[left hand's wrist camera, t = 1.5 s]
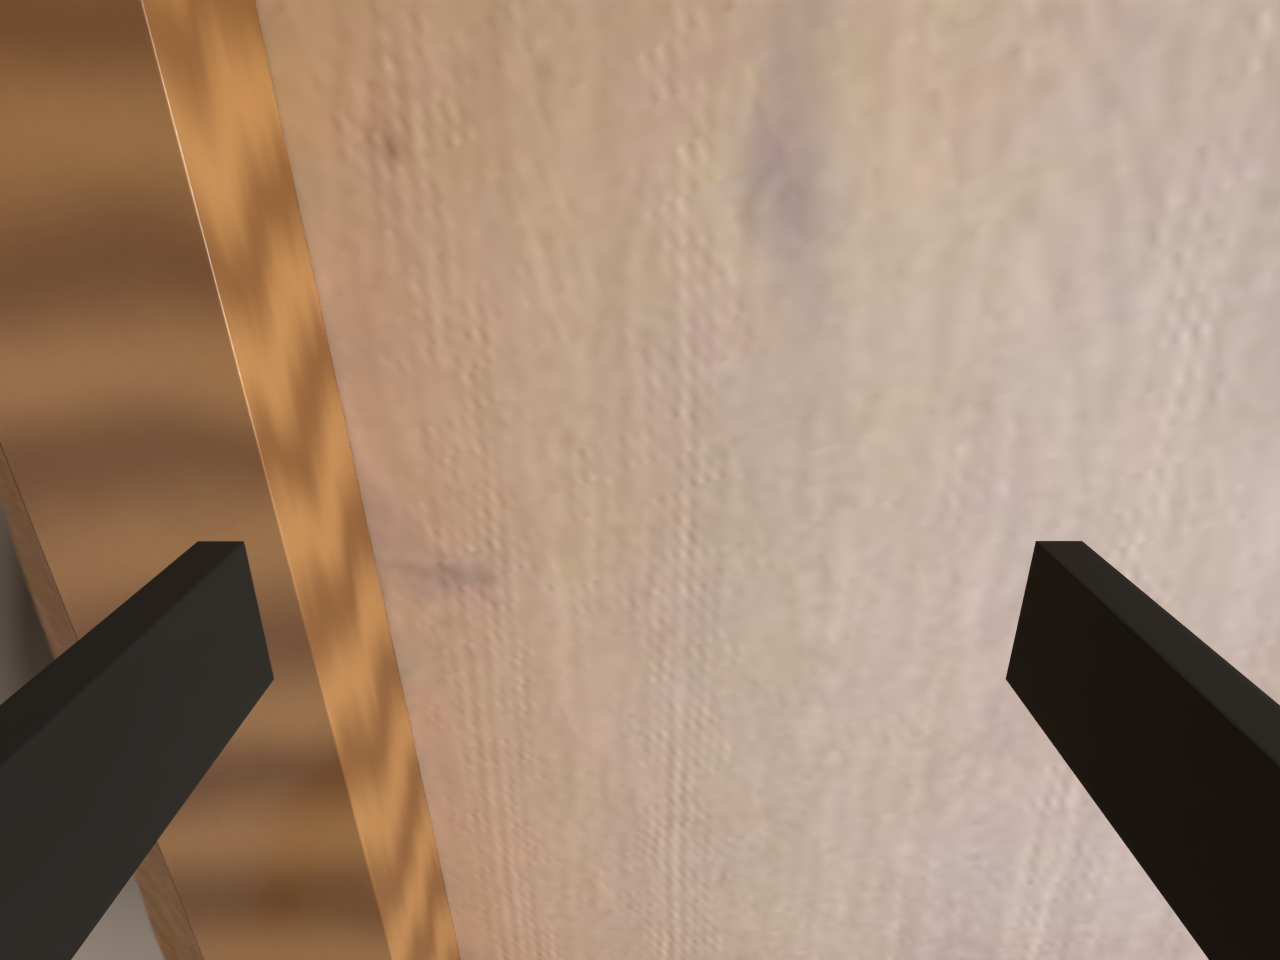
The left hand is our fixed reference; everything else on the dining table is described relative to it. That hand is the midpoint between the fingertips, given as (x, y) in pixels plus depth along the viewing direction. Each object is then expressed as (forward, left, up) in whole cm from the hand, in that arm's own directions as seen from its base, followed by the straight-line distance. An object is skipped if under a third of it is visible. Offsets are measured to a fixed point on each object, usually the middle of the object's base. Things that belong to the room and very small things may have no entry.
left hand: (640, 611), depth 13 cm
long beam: (+12, -16, -22) cm, 29 cm away
